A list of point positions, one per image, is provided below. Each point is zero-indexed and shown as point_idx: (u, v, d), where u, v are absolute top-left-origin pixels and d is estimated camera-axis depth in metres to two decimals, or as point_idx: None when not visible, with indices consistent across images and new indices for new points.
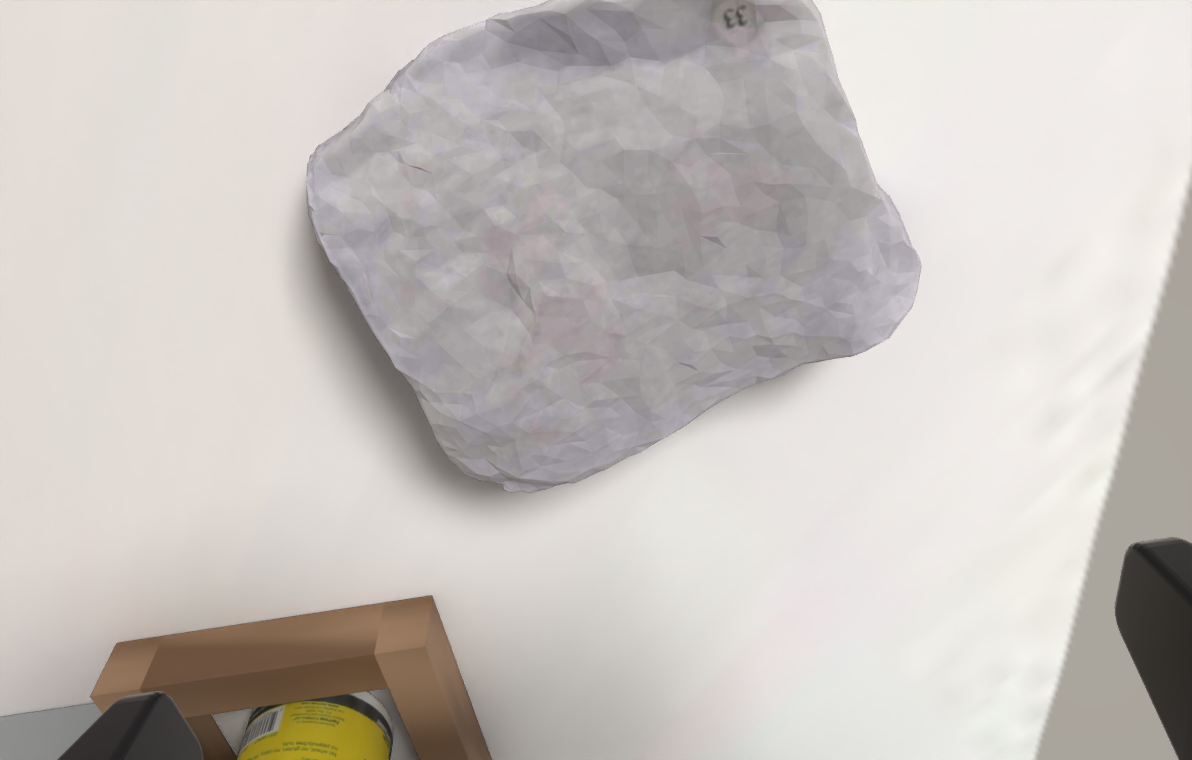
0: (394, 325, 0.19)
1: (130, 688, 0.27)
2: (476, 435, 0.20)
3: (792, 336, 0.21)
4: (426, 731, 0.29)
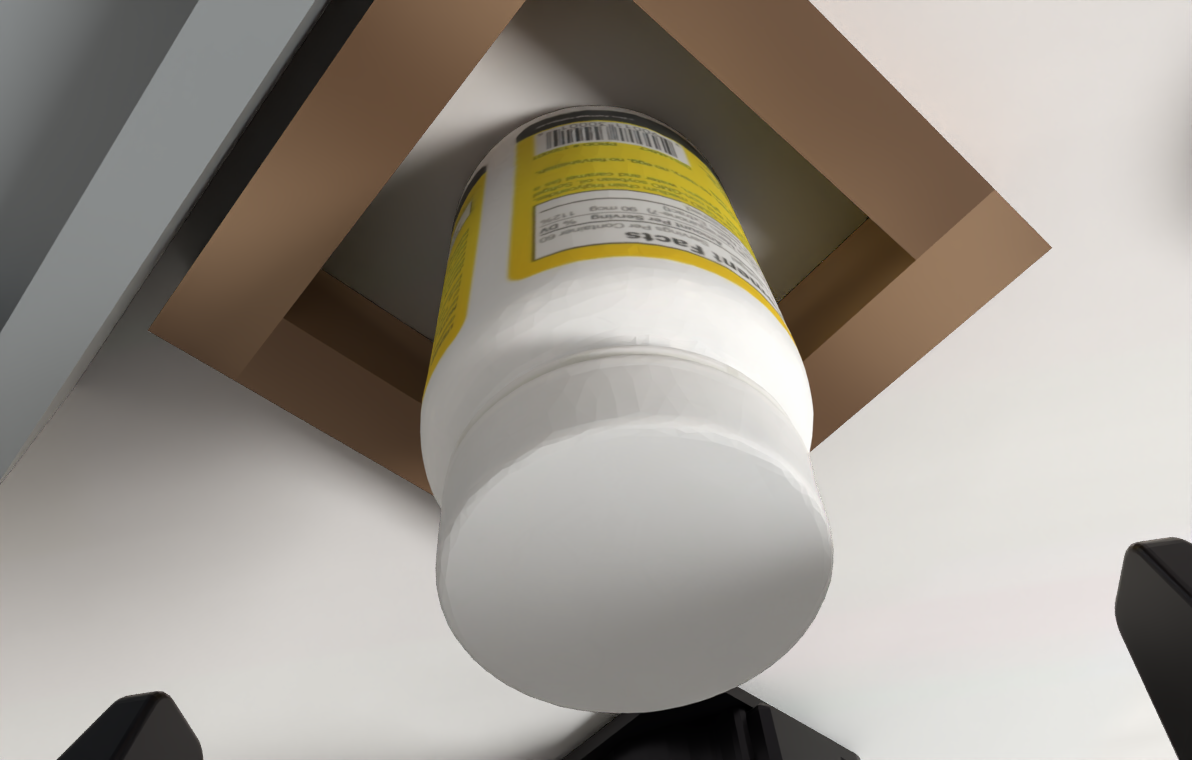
0: None
1: None
2: None
3: None
4: (835, 372, 0.16)
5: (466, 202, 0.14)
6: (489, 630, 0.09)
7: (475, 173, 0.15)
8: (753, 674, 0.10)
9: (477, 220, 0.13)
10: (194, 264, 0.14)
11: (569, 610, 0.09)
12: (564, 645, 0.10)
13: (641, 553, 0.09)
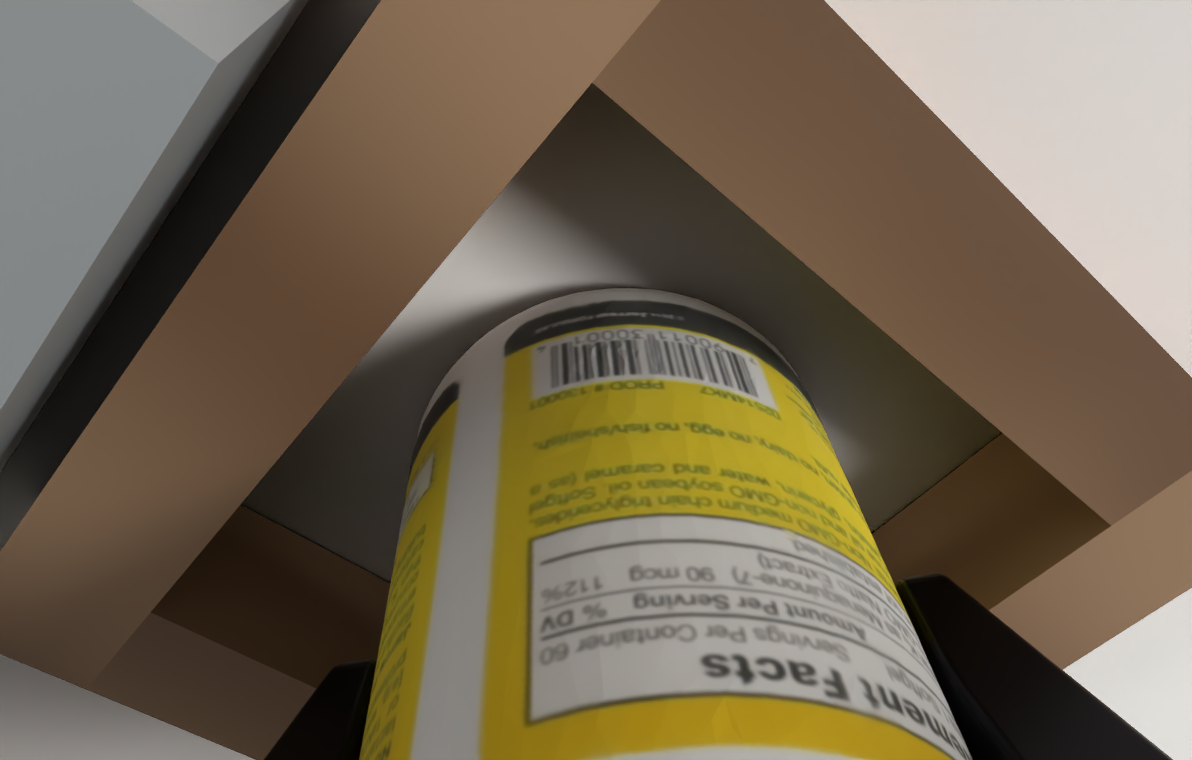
0: None
1: None
2: None
3: None
4: None
5: (427, 447, 0.09)
6: None
7: (444, 387, 0.10)
8: None
9: (439, 516, 0.08)
10: (5, 547, 0.09)
11: None
12: None
13: None
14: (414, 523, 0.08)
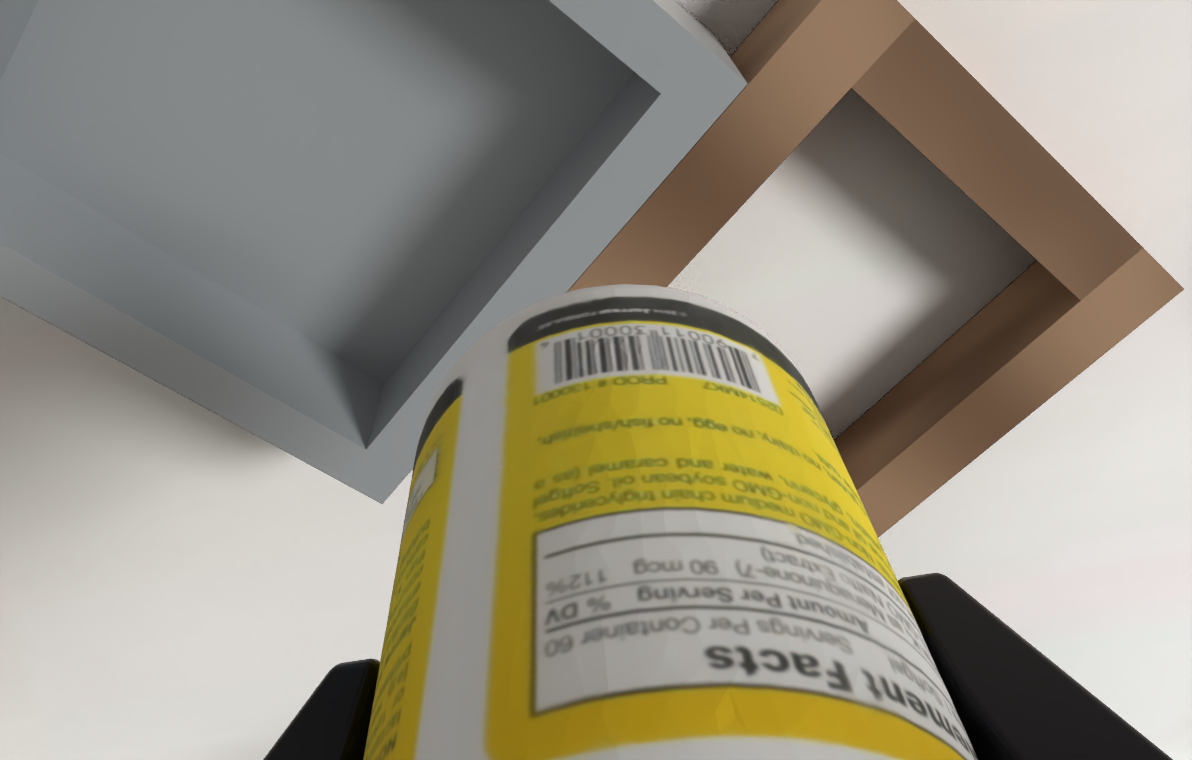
0: None
1: (902, 6, 0.16)
2: None
3: None
4: (1012, 386, 0.20)
5: (431, 443, 0.09)
6: None
7: (447, 384, 0.10)
8: None
9: (443, 511, 0.08)
10: None
11: None
12: None
13: None
14: (418, 518, 0.08)
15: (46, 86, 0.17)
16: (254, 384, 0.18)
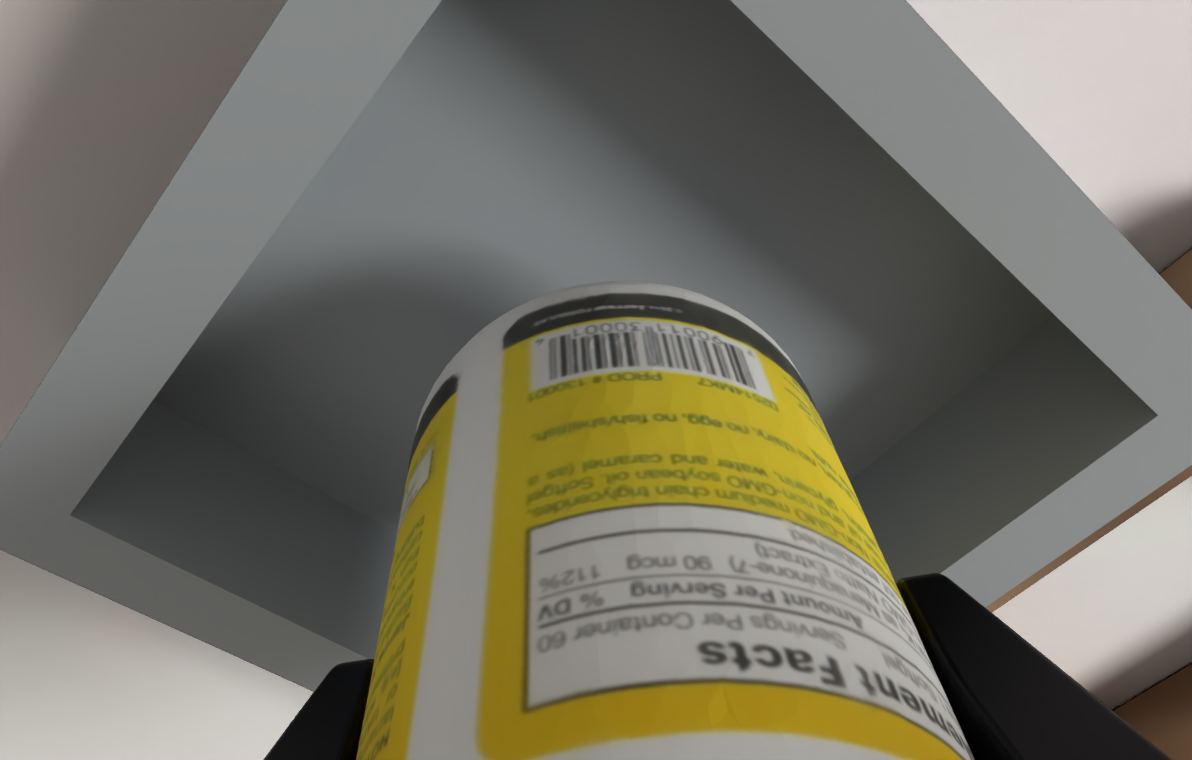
0: None
1: None
2: None
3: None
4: None
5: (426, 440, 0.09)
6: None
7: (442, 380, 0.10)
8: None
9: (437, 508, 0.08)
10: None
11: None
12: None
13: None
14: (413, 515, 0.08)
15: (253, 338, 0.13)
16: None
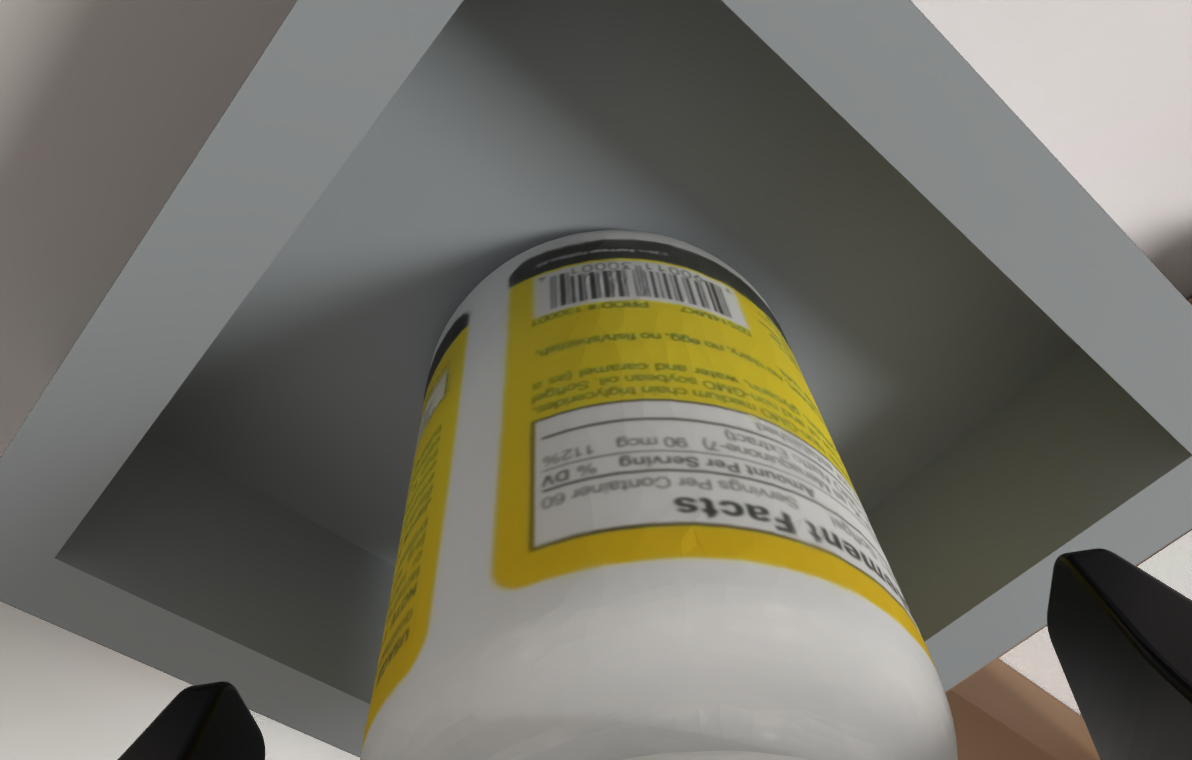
0: None
1: None
2: None
3: None
4: None
5: (441, 368, 0.10)
6: None
7: (454, 319, 0.11)
8: None
9: (453, 416, 0.09)
10: None
11: None
12: None
13: None
14: (431, 427, 0.10)
15: (247, 369, 0.12)
16: None
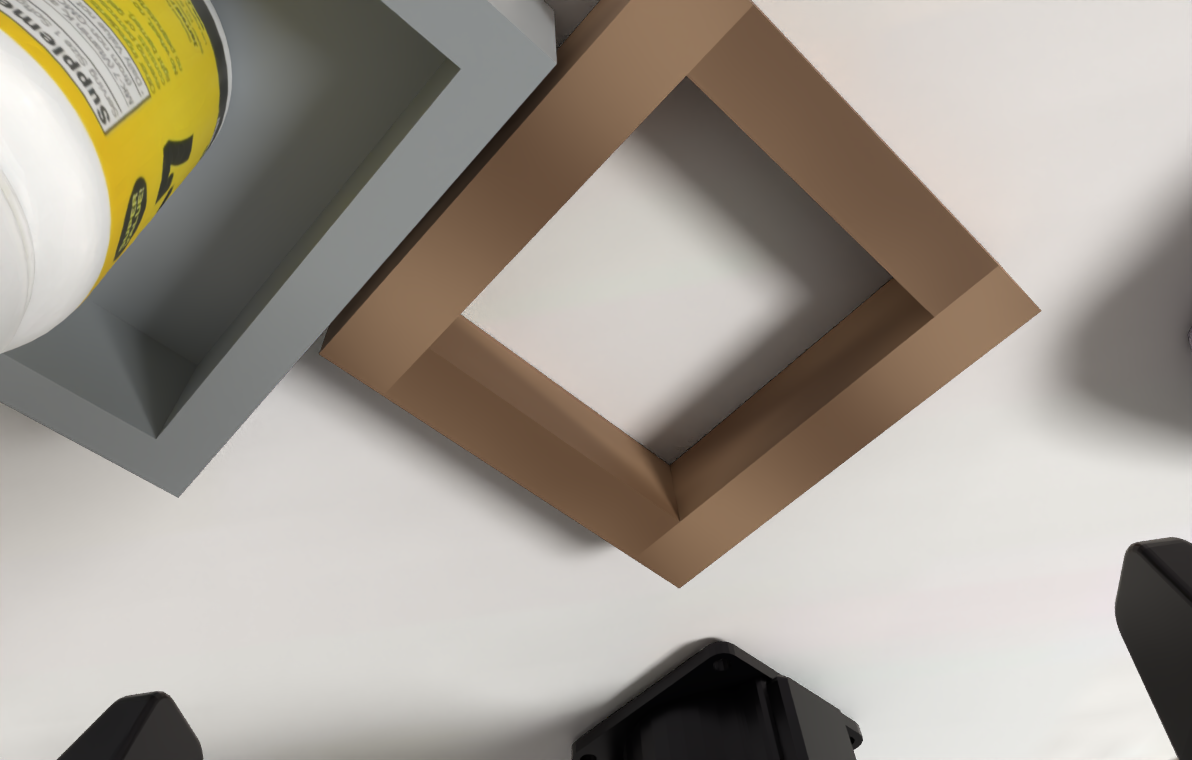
0: None
1: None
2: None
3: None
4: (864, 402, 0.19)
5: None
6: None
7: None
8: None
9: None
10: (364, 304, 0.18)
11: None
12: None
13: None
14: None
15: None
16: (26, 362, 0.16)
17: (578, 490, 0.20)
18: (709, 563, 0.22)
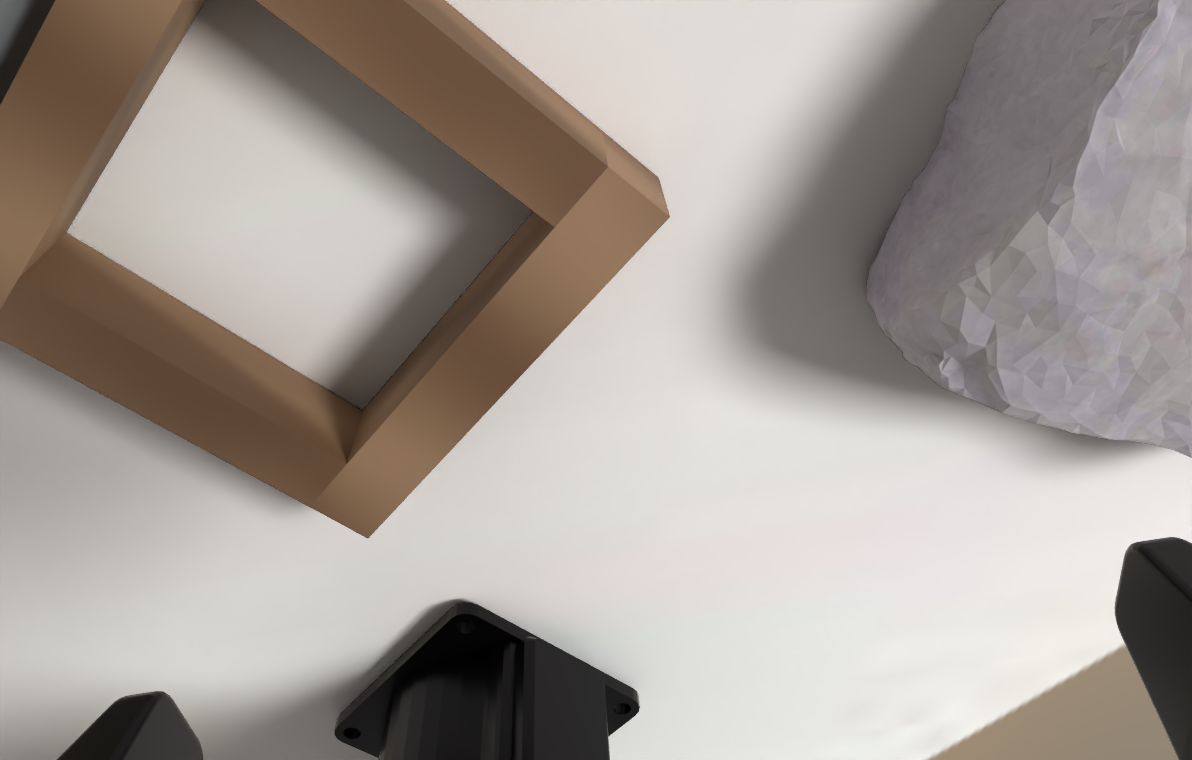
0: (1122, 123, 0.15)
1: None
2: (1042, 296, 0.16)
3: None
4: (506, 326, 0.18)
5: None
6: None
7: None
8: None
9: None
10: None
11: None
12: None
13: None
14: None
15: None
16: None
17: (227, 432, 0.19)
18: (392, 509, 0.21)
